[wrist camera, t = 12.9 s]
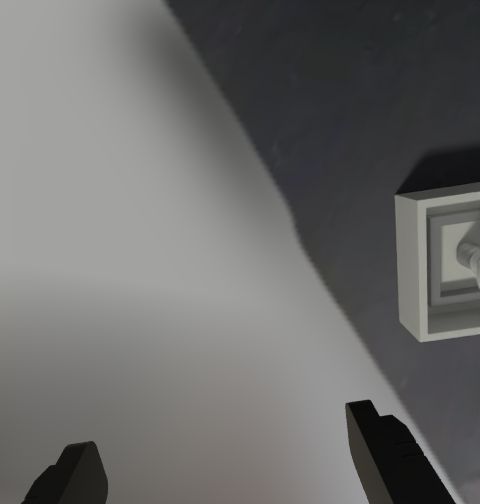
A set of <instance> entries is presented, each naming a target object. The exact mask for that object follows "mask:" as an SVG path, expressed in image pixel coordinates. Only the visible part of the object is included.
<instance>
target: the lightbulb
mask: <svg viewBox="0 0 480 504" xmlns="http://www.w3.org/2000/svg"><path fill="white" fill-rule="evenodd" d="M456 259H457V262H458V263H459V264H460V265H462V266H464V267H466V268H469V269H471V270H472V272H473V273H474V274H475V276H476V282H477V285H478V287H479V289H480V245H479V244H476V243H473V242H468V243H465V244H463V245H462V246H460V247H459V249H458V250H457V253H456Z"/></svg>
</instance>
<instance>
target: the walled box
mask: <svg viewBox="0 0 480 504" xmlns="http://www.w3.org/2000/svg"><path fill="white" fill-rule="evenodd" d="M395 214H396V241H397V269H398V297H399V321H400V322H401V323H402V324H403V325H404V326H405V327H406V328H407V329H408V330H409V331H410V332H411V333H412V335H413V336H414V337H415V338H416V339H417V340H418V341H419V342H426V341H433V340H440V339H448V338H455V337H462V336H469V335H476V334H480V289H479V287H478V285H477V282H476V276H475V274H474V273H473V272H472V270H471V269H469V268H466V267H464V266H462V265H460V264H459V263H458V262H457V259H456V253H457V250H458V249H459V247H460V246H462V245H463V244H465V243H468V242H473V243H476V244H479V245H480V182H478V183H471V184H464V185H458V186H451V187H444V188H437V189H431V190H424V191H417V192H411V193H404V194H397V195H395Z"/></svg>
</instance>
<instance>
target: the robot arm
mask: <svg viewBox="0 0 480 504" xmlns="http://www.w3.org/2000/svg"><path fill="white" fill-rule="evenodd" d="M345 409H346V418H347V428H348V438H349V446H350V451H351V455H352V459H353V462H354V465H355V468H356V470H357V473H358V476H359V478H360V481H361V483H362V486H363V488H364V491H365V493H366V496H367V499H368V501H369V504H456V503H455V502H454V500H453V498H452V497H451V495H450V494H449V492H448V490H447V489H446V487H445V486H444V484H443V483H442V481H441V479H440V478H439V476H438V475H437V473H436V472H435V470H434V469H433V467H432V465H431V464H430V462H429V461H428V459H427V457H426V456H424V453H423V451H422V450H421V448H420V446H419V445H418V444H417V443H416V440H415V439H414V437H413V435H412V434H411V432H410V431H409V429H408V428H407V426H406V425H405V424H403V423H402V422H401V421H399V420H398V419H397V418H396V417H394V416H393V415H386V416H379V414H378V412H377V411H376V409H375V408H374V405H373V403H372V402H371V400H362V401H356V402H349V403H346V406H345ZM107 494H108V481H107V477H106V474H105V471H104V468H103V464H102V462H101V458H100V455H99V452H98V449H97V446H96V444H95V443H94V442H93V441H89V442H83V443H76V444H70V445H68V446H66V447H65V449H64V450H63V452H62V454H61V456H60V458H59V459H58V461H57V463H56V465H51V466H49V467H48V468H47V469H46V470H45V471H44V472H43V473H42V474H41V475H40V476H39V477H38V478H37V479H36V480H35V481H34V483H33V485H32V486H31V488H30V490H29V492H28V493H27V495H26V497H25V500H24V501H23V502H22V503H21V504H105V503H106V500H107Z"/></svg>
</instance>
